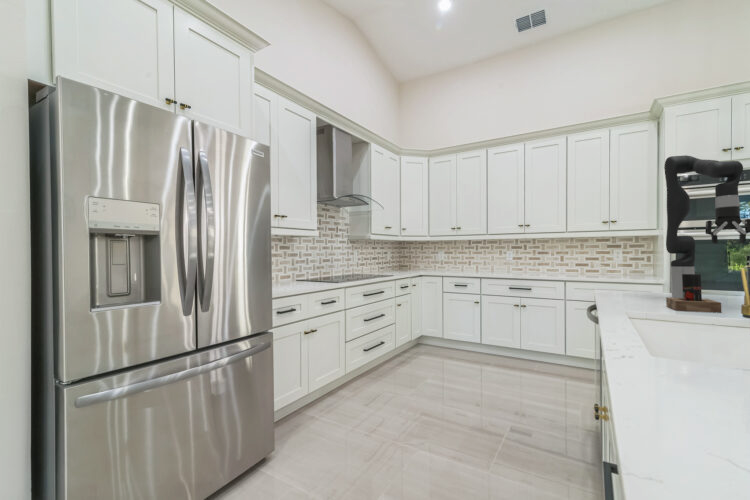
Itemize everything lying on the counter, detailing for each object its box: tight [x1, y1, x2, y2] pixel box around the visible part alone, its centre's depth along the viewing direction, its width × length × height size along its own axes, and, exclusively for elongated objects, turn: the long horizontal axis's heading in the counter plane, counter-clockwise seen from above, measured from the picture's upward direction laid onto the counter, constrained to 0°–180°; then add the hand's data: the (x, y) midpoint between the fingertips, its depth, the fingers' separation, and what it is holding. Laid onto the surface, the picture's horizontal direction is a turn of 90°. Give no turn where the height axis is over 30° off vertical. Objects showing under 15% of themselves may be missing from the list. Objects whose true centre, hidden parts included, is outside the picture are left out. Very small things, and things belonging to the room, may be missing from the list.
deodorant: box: [682, 273, 703, 301], centre depth 148 cm, size 6×6×15 cm
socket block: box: [665, 297, 722, 314], centre depth 148 cm, size 14×14×4 cm
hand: (728, 243), depth 151 cm, fingers open, 8 cm apart
